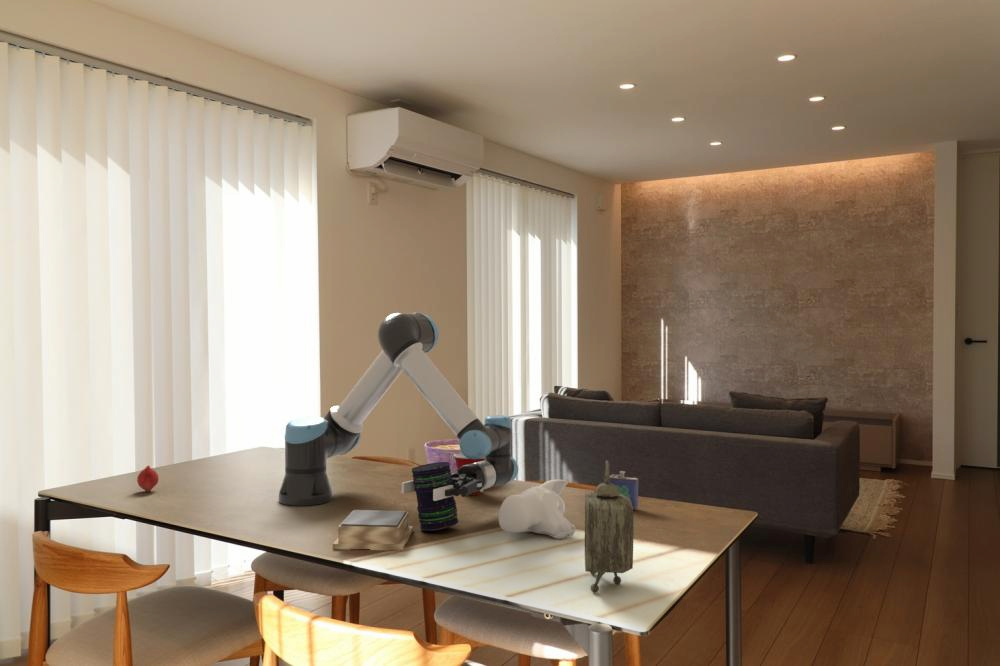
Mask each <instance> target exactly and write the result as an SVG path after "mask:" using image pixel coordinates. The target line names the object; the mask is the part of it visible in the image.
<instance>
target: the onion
mask: <svg viewBox="0 0 1000 666" xmlns="http://www.w3.org/2000/svg"><path fill="white" fill-rule="evenodd" d="M136 481H137V485H138V487H140V488H141V489H142V490H144V491H145V492H150V491H151V490H153V489H154V488H155V486H156V485H157V484H158V483H159V475H158V472H157V471H156V470H154V469H153V468H151V466H150V464H148V465H147V466H146V467H144V468H143V469H142V470H141V471H140V472H139V474H138V475H137V479H136Z"/></svg>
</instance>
